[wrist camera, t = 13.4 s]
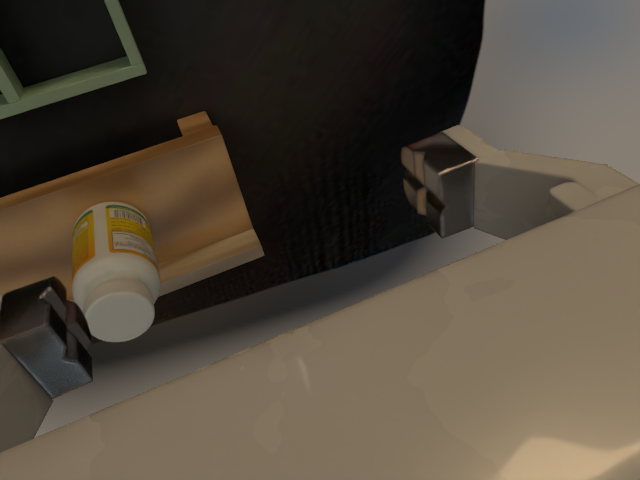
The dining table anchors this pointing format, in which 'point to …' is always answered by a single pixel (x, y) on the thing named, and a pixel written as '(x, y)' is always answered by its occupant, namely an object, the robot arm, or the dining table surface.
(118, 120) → the dining table surface
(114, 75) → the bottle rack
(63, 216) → the windowsill ledge
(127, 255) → the supplement bottle
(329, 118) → the dining table surface
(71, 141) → the dining table surface
